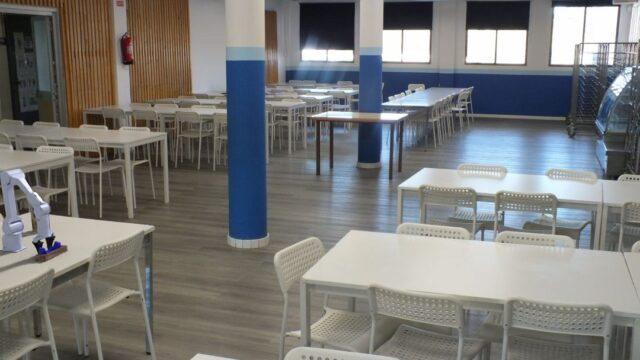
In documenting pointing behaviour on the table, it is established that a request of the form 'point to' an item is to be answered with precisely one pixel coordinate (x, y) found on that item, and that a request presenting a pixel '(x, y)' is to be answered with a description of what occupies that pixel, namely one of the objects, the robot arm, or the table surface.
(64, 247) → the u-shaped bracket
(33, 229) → the coffee box
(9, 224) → the robot arm
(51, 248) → the blue notched arch
